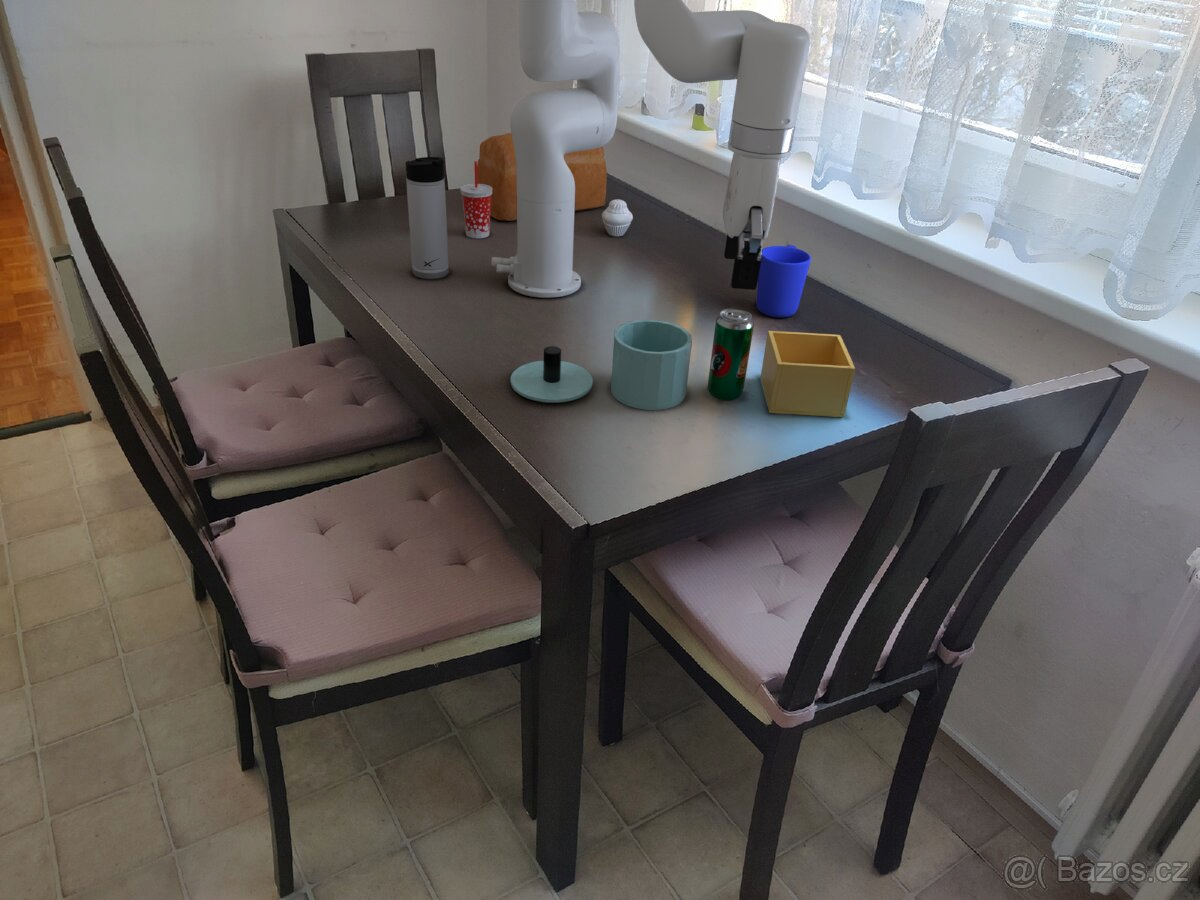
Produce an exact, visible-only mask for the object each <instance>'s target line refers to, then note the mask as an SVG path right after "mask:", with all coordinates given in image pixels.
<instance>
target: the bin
mask: <svg viewBox="0 0 1200 900" xmlns="http://www.w3.org/2000/svg"><path fill="white" fill-rule="evenodd" d="M855 373H856V367H855V364H854V363H853V360H852V357H851V356H850V353H849V351H848V349H847V346H846V344H845V342H844V340H843V338H842V336H841V334H834V333H833V334H830V333H817V332H815V333H813V332H798V331H780V330H768V331H767V335H766V341H765V347H764V353H763V359H762V366H761V371H760V376H759V377H760V382H761V386H762V389H763V394H764V397H765V401H766V406H767V409H768V413H769V414H781V415H798V416H813V417H814V416H815V417H818V416H819V417H832V418H845V416H846V411H847V407H848V402H849V398H850V394H851V389H852V385H853V381H854V377H855Z"/></svg>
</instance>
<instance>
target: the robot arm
mask: <svg viewBox="0 0 1200 900" xmlns="http://www.w3.org/2000/svg"><path fill="white" fill-rule="evenodd" d="M633 3H634V4H633V6H634V14H635V15H634V17H635V22H636V26H637V30H638V33H639V35H640V38H641V39H642V41H643V43H644V45H645V46H646V47H647V49H648V50H649V52H650V53H651V54H652V55H653V58H655V60H656V61H657V63H658V64H659V66H661V68H662V69H663V70H664V71H665V72H666V73H667V74H668V75H669V76H670V77H672V78H673V79H675V80H677V81H679V82H681V83H685V84H698V83H707V82H708V83H709V82H717V81H719V82H720V81H733V80H736V84H735V93H734V99H733V107H732V113H731V122H730V128H729V136H728V142H727V149H728V150H729V151H731V152H732V153H733V154H732V158H731V162H730V168H729V172H728V173H729V174H728V179H727V185H726V191H725V197H724V202H723V207H722V219H723V220H722V221H723V223H724V224H723V225H724V228H725V232H726V239H725V246H724V253H723V256H724V259H726V260H733V266H732V273H731V280H730V288H732V289H735V290H736V289H737V290H749V291H750V290H751V291H754V290H757V286H758V277H759V271H760V265H761V256H762V249H763V241H764V240H765V239H766V238H768V237H769V233H770V228H771V224H772V219H773V213H774V207H775V201H776V196H777V195H776V194H777V189H778V181H779V178H780V177H779V176H780V175H779V174H780V166H781V160H782V159H784V158H787V157H789V156H790V155H791V154H792V147H793V143H794V136H795V130H796V125H797V120H798V114H799V108H800V102H801V98H802V91H803V85H804V80H805V75H806V69H807V65H808V64H807V63H808V58H809V53H810V46H811V37H810V34H809V31H808V30H806V28H805V27H802V26H801V25H798V24H794V23H788V22H781V21H775V20H773V19H771V18H769V17H767V16H766V15H764V14H761V13H759V12H756V11H753V10H747V9H746V10H745V9H742V10H741V9H740V10H739V9H738V10H736V9H735V10H708V11H706V10H704V11H692V10H691V9H690V8H689V7H688V6H687V5H686V4H685V2H684V1H683V0H633ZM577 4H578V1H577V0H518V32H519V33H518V35H519V36H518V37H519V39H518V40H519V42H518V43H519V44H518V45H519V59H520V65H521V69H522V71H523V73H524V74H525V76H526V77H527V78H528V79H530V80H533V81H535V82H540V83H541V82H542V83H555V82H568V81H576V87H573V88H557V89H547V90H538V91H533V92H531V93H530V92H529V93H526V94H525V95H523V96H521V97H520V98H519V99H518V100H516V101H515V103H514V104H513V106H512V108H511V111H510V116H509V125H510V133H512V139H513V144H514V150H515V158H516V171H517V220H516V252H515V256H509V258H508V257H507V258H504V257H498V256H492V257H491V261H490V263H491V265H490V266H491V269H496V273H498V274H508V276H507V283H508V286H509V288H510V289H511V290H513V291H514V292H516V293H518V294H521V295H524V296H529V297H532V298H542V299H543V298H544V299H545V298H546V299H551V298H560V297H565V296H569V295H572V294H573V293H575V292H577V291H578V290H579V289H580V288H581V285H582V278H581V276H580V275H579V273H578V272H576V271H574V270H573V265H574V264H573V263H574V239H575V237H574V235H575V232H574V231H575V211H574V209H575V181H574V177H573V175H572V173H571V171H570V169H569V168H568V166H567V164H566V162H565V160H564V157H563V156H564V154H567V153H571V152H577V151H584V150H590V149H596V148H600V147H603V148H604V146H606V145H608V144H609V143H610V142H611V140H612V139H613V137H614V135H615V132H616V129H617V123H618V111H619V93H620V92H619V91H620V75H621V74H620V72H621V46H620V38H619V35H618V31H617V30H616V27H615V25H614V24H613V22H612V21H611V19H610V18H609V17H607V15H605V14H603V13H601V12H598V11H593V10H591V11H587V10H586V11H585V10H584V11H578V5H577Z"/></svg>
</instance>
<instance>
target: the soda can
mask: <svg viewBox="0 0 1200 900" xmlns="http://www.w3.org/2000/svg"><path fill="white" fill-rule="evenodd" d="M754 328H755V323H754V321H753V316H752V314H751V313H750V312H748V311H747V310H744V309H741V308H726V309H722V310H721V311H720V312H719V315H718V316H717V318H715V325H714V333H713V340H712V348H711V354H710V363H709V364H710V365H709V371H708V379H707V386H706V390H707V392H708V393H709V395H710V396H711V397H712V398H714V399H716V400H718V401H723V402H732V401H736V400H737V399H739V398H741V397H742V396H743V394H744V390H745V386H746V385H745V384H746V379H747V373H748V372H747V371H748V364H749V360H750V359H749V358H750V353H751V346H752V341H753V333H754Z"/></svg>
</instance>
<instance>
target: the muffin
mask: <svg viewBox="0 0 1200 900" xmlns="http://www.w3.org/2000/svg"><path fill="white" fill-rule="evenodd" d="M601 219H602V223H603V225H604V228H605V230H606V233H607V234H608V235H609V236H611V237H623V236H624V235H625V233H626V232H627V231H628V229H629V227H630V225H631V224H632V223H631V222H632V221H633V219H634V217H633V213H632V212H631V211H630V210H629V208H628V204H627V202H626V201H624V200H623V199H619V198H617V199H612V200H611V201H609V203H608V206H607V207H606V209H605V210H603V212H602V213H601Z"/></svg>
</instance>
